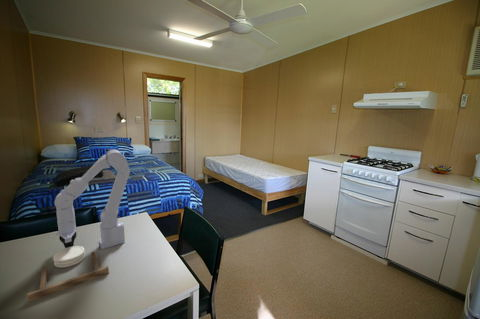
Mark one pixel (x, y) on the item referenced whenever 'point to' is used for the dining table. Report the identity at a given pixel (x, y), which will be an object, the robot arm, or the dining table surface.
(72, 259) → the white round dish
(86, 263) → the dining table surface
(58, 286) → the walnut bay
